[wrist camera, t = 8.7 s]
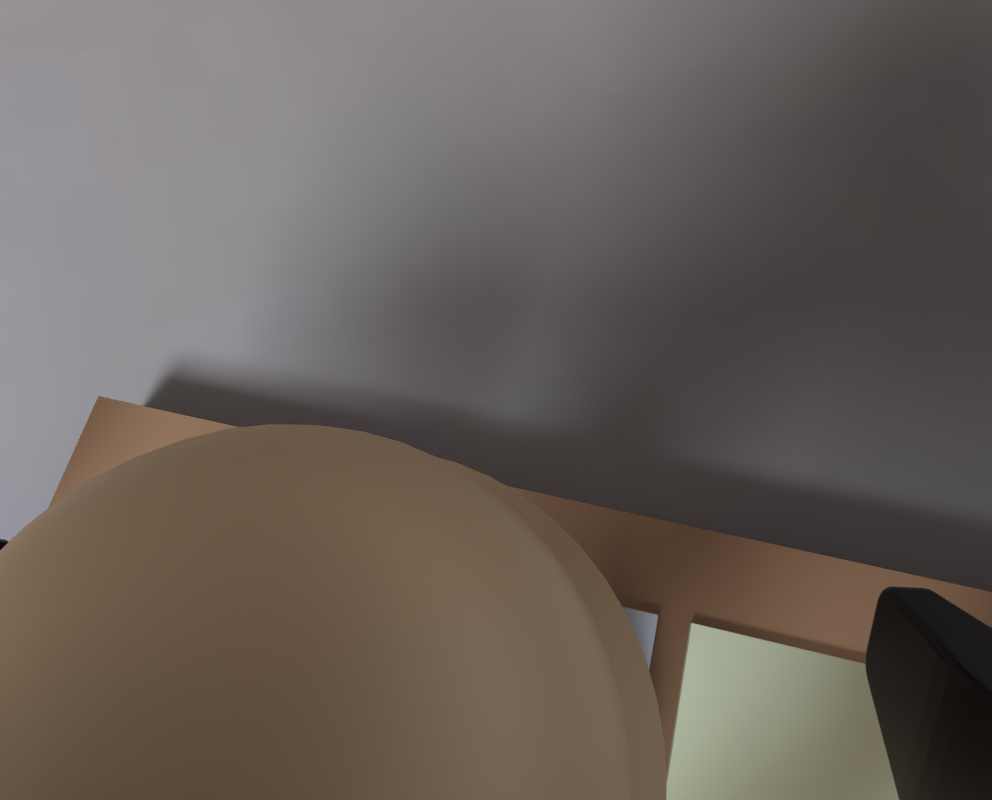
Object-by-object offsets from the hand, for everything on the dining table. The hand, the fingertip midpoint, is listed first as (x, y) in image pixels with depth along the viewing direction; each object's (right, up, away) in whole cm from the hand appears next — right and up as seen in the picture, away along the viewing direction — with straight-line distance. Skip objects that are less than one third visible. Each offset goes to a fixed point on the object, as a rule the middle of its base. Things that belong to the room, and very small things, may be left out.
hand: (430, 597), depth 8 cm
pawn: (0, -4, +6) cm, 7 cm away
